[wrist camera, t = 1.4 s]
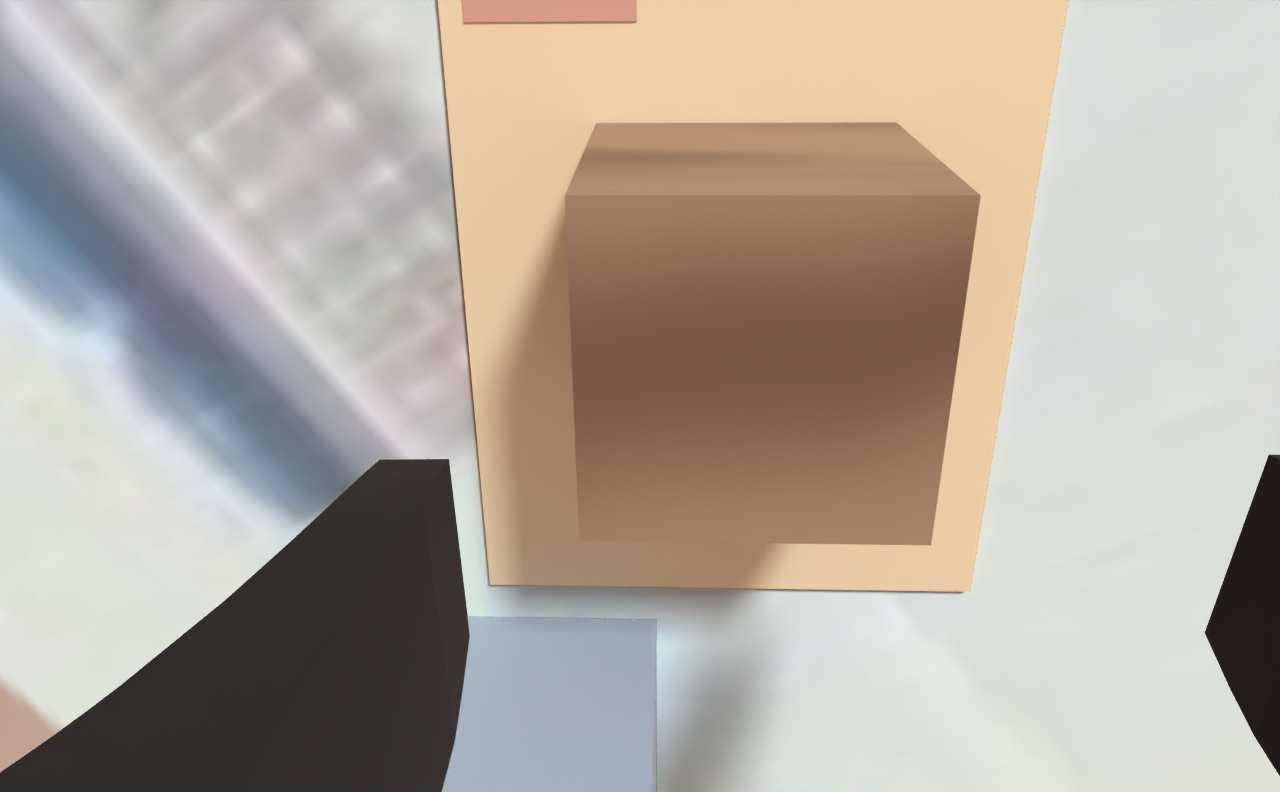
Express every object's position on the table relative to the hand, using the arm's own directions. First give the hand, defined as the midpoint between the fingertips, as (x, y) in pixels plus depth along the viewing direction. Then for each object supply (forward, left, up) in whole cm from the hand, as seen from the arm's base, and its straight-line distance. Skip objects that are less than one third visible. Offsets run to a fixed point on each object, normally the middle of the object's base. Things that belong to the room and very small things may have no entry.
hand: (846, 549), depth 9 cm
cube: (-11, +4, -10) cm, 15 cm away
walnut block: (0, 0, -9) cm, 9 cm away
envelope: (0, 0, -10) cm, 10 cm away
